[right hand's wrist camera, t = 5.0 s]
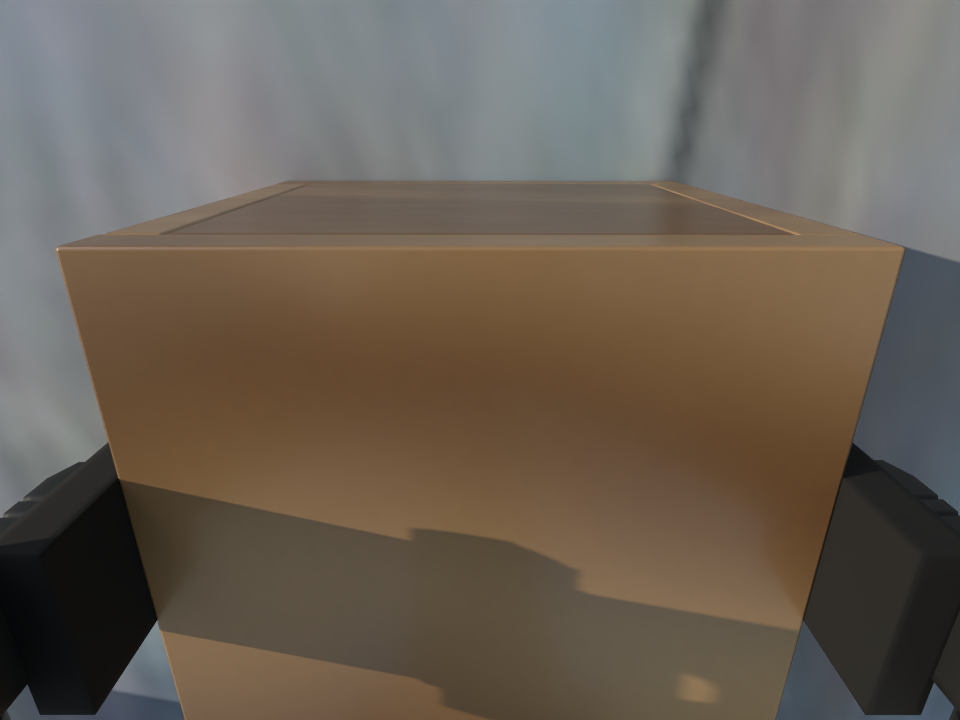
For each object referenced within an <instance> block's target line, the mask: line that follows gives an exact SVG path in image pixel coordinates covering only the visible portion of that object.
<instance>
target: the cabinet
mask: <svg viewBox="0 0 960 720" xmlns="http://www.w3.org/2000/svg"><path fill="white" fill-rule="evenodd" d="M56 253H57V257H58V260H59V264H60V268H61V271H62V275H63V278H64V282H65V286H66V289H67V293H68V297H69V300H70V304H71V308H72V311H73V315H74V318H75V322H76V326H77V329H78V333H79V337H80V340H81V344H82V348H83V351H84V355H85V358H86V362H87V366H88V369H89V373H90V377H91V380H92V384H93V388H94V391H95V395H96V398H97V402H98V406H99V409H100V413H101V417H102V420H103V424H104V428H105V431H106V435H107V438H108V442H109V446H110V449H111V453H112V457H113V460H114V464H115V468H116V471H117V475H118V479H119V482H120V486H121V489H122V493H123V497H124V500H125V504H126V508H127V511H128V515H129V519H130V522H131V526H132V529H133V533H134V537H135V540H136V544H137V548H138V551H139V555H140V559H141V562H142V566H143V569H144V573H145V577H146V580H147V584H148V588H149V591H150V595H151V599H152V602H153V606H154V609H155V613H156V617H157V620H158V624H159V628H160V631H161V635H162V639H163V642H164V646H165V649H166V653H167V657H168V660H169V664H170V668H171V671H172V675H173V679H174V682H175V686H176V690H177V693H178V697H179V700H180V704H181V708H182V711H183V715H184V719H185V720H776V716H777V713H778V709H779V706H780V702H781V698H782V695H783V691H784V688H785V684H786V680H787V677H788V673H789V669H790V666H791V662H792V659H793V655H794V651H795V648H796V644H797V641H798V637H799V633H800V630H801V626H802V623H803V619H804V615H805V612H806V608H807V604H808V601H809V597H810V594H811V590H812V586H813V583H814V579H815V576H816V572H817V568H818V565H819V561H820V558H821V554H822V550H823V547H824V543H825V539H826V536H827V532H828V529H829V525H830V521H831V518H832V514H833V511H834V507H835V503H836V500H837V496H838V492H839V489H840V485H841V482H842V478H843V474H844V471H845V467H846V464H847V460H848V456H849V453H850V449H851V446H852V442H853V438H854V435H855V431H856V427H857V424H858V420H859V417H860V413H861V409H862V406H863V402H864V399H865V395H866V391H867V388H868V384H869V380H870V377H871V373H872V370H873V366H874V362H875V359H876V355H877V352H878V348H879V344H880V341H881V337H882V334H883V330H884V326H885V323H886V319H887V315H888V312H889V308H890V305H891V301H892V297H893V294H894V290H895V287H896V283H897V279H898V276H899V272H900V269H901V265H902V261H903V258H904V254H905V248H904V247H902V246H899V245H895V244H892V243H888V242H885V241H881V240H878V239H874V238H871V237H867V236H864V235H860V234H857V233H854V232H850V231H847V230H843V229H840V228H836V227H833V226H829V225H826V224H822V223H819V222H815V221H812V220H808V219H805V218H801V217H798V216H794V215H791V214H787V213H784V212H780V211H777V210H773V209H770V208H766V207H763V206H759V205H756V204H752V203H749V202H745V201H742V200H738V199H735V198H731V197H728V196H724V195H721V194H717V193H714V192H710V191H707V190H703V189H700V188H696V187H693V186H689V185H686V184H681V183H677V182H674V181H286V182H282V183H279V184H276V185H273V186H269V187H266V188H262V189H259V190H255V191H252V192H248V193H245V194H241V195H238V196H234V197H231V198H227V199H224V200H220V201H217V202H213V203H210V204H206V205H203V206H200V207H196V208H193V209H189V210H186V211H182V212H179V213H175V214H172V215H168V216H165V217H161V218H158V219H154V220H151V221H147V222H144V223H140V224H137V225H134V226H130V227H127V228H123V229H120V230H116V231H113V232H109V233H107V234H105V235H96V236H92V237H89V238H85V239H82V240H78V241H75V242H71V243H68V244H64V245H61V246H59V247H57V248H56Z"/></svg>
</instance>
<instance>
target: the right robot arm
mask: <svg viewBox="0 0 960 720" xmlns="http://www.w3.org/2000/svg"><path fill="white" fill-rule="evenodd" d="M803 620H804V622H805V623H806V625H807V626H808V628H809V629H810V631H811V632H812V634H813V636H814V637H815V639H816V640H817V642H818V643H819V645H820V646H821V648H822V649H823V651H824V652H825V654H826V655H827V657H828V658H829V660H830V661H831V663H832V665H833V666H834V668H835V669H836V671H837V672H838V674H839V675H840V677H841V678H842V680H843V681H844V683H845V684H846V686H847V687H848V689H849V691H850V692H851V694H852V695H853V697H854V698H855V700H856V701H857V703H858V704H859V706H860V707H861V709H862V710H863V712H864V713H865V715H921V713H922V710H923V708H924V706H925V703H926V701H927V698H928V696H929V693H930V691H931V688H932V686H933V683H934V682H935V684H936V685H937V686H938V687H939V689H940V690H941V691H942V692H943V693H944V695H945V696H946V697H947V698H948V700H949V701H950V702H951V703H952V704H953V706H954V709H953V712H952V714H951V716H950V719H949V720H960V516H959V515H958V511H956V510H955V509H954V508H953V507H951V506H950V505H949V504H948V503H946V502H945V501H944V500H942V499H938V495H937V494H935V493H934V492H933V491H932V490H930V489H929V488H928V487H927V486H925V485H924V484H923V483H922V482H920V481H919V480H918V479H917V478H915V477H914V476H912V475H910V474H908V473H906V472H904V471H902V470H901V469H899V468H897V467H895V466H893V465H891V464H889V463H887V462H885V461H883V460H873V459H871V458H870V457H869V456H868V455H867V454H865V453H864V452H863V451H862V450H861V449H860V448H858V447H857V446H856V445H855V444H854V443H852V446H851V449H850V453H849V456H848V460H847V464H846V467H845V471H844V474H843V478H842V482H841V485H840V489H839V492H838V496H837V500H836V503H835V507H834V511H833V514H832V518H831V521H830V525H829V529H828V532H827V536H826V539H825V543H824V547H823V550H822V554H821V558H820V561H819V565H818V568H817V572H816V576H815V579H814V583H813V586H812V590H811V594H810V597H809V601H808V604H807V608H806V612H805V615H804V619H803ZM156 621H157V617H156V613H155V609H154V606H153V602H152V599H151V595H150V591H149V588H148V584H147V580H146V577H145V573H144V569H143V566H142V562H141V559H140V555H139V551H138V548H137V544H136V540H135V537H134V533H133V529H132V526H131V522H130V519H129V515H128V511H127V508H126V504H125V500H124V497H123V493H122V489H121V486H120V482H119V479H118V475H117V471H116V468H115V464H114V460H113V457H112V453H111V449H110V446H109V442H108V443H107V444H106V445H105V446H103V447H102V448H101V449H100V450H99V451H98V452H96V453H95V454H94V455H93V456H92V457H91V458H89V459H88V460H87V461H86V462H78V463H76V464H74V465H72V466H70V467H69V468H67V469H65V470H63V471H61V472H59V473H57V474H55V475H53V476H51V477H49V478H47V479H46V480H45V481H44V482H42V483H41V484H40V485H39V486H37V487H36V488H35V489H34V490H32V491H31V492H30V493H29V494H27V495H26V496H25V497H24V500H23V502H18V503H16V504H15V505H14V506H13V507H11V508H10V509H9V510H8V511H7V512H5V513H4V517H3V518H0V720H11V719H10V716H9V714H8V712H7V709H8V707H9V706H10V705H11V704H12V703H13V701H14V700H15V699H16V698H17V696H18V695H19V694H20V693H21V691H22V690H23V689H24V688H25V687H26V685H27V684H28V686H29V689H30V691H31V694H32V696H33V699H34V701H35V703H36V706H37V708H38V711H39V713H40V715H95V714H96V713H97V711H98V710H99V708H100V707H101V705H102V704H103V702H104V701H105V699H106V698H107V696H108V695H109V693H110V691H111V690H112V688H113V687H114V685H115V684H116V682H117V681H118V679H119V678H120V676H121V675H122V673H123V672H124V670H125V669H126V667H127V666H128V664H129V662H130V661H131V659H132V658H133V656H134V655H135V653H136V652H137V650H138V649H139V647H140V646H141V644H142V643H143V641H144V640H145V638H146V636H147V635H148V633H149V632H150V630H151V629H152V627H153V626H154V624H155V623H156Z"/></svg>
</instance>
